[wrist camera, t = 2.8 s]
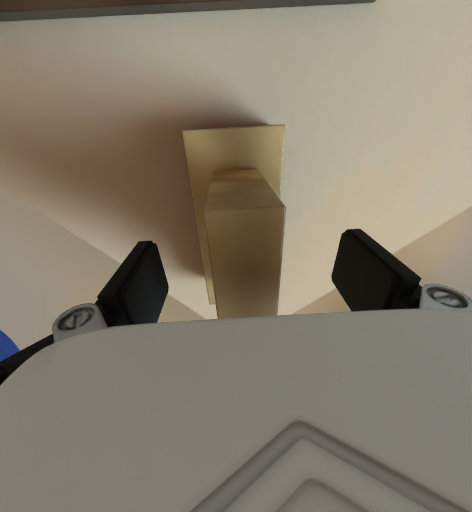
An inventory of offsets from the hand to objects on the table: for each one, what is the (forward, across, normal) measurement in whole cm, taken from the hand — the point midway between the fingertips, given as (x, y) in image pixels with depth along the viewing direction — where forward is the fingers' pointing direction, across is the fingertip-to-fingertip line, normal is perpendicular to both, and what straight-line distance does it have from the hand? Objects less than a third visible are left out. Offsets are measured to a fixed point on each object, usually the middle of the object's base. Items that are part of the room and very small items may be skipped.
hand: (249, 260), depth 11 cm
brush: (+6, 0, 0) cm, 6 cm away
